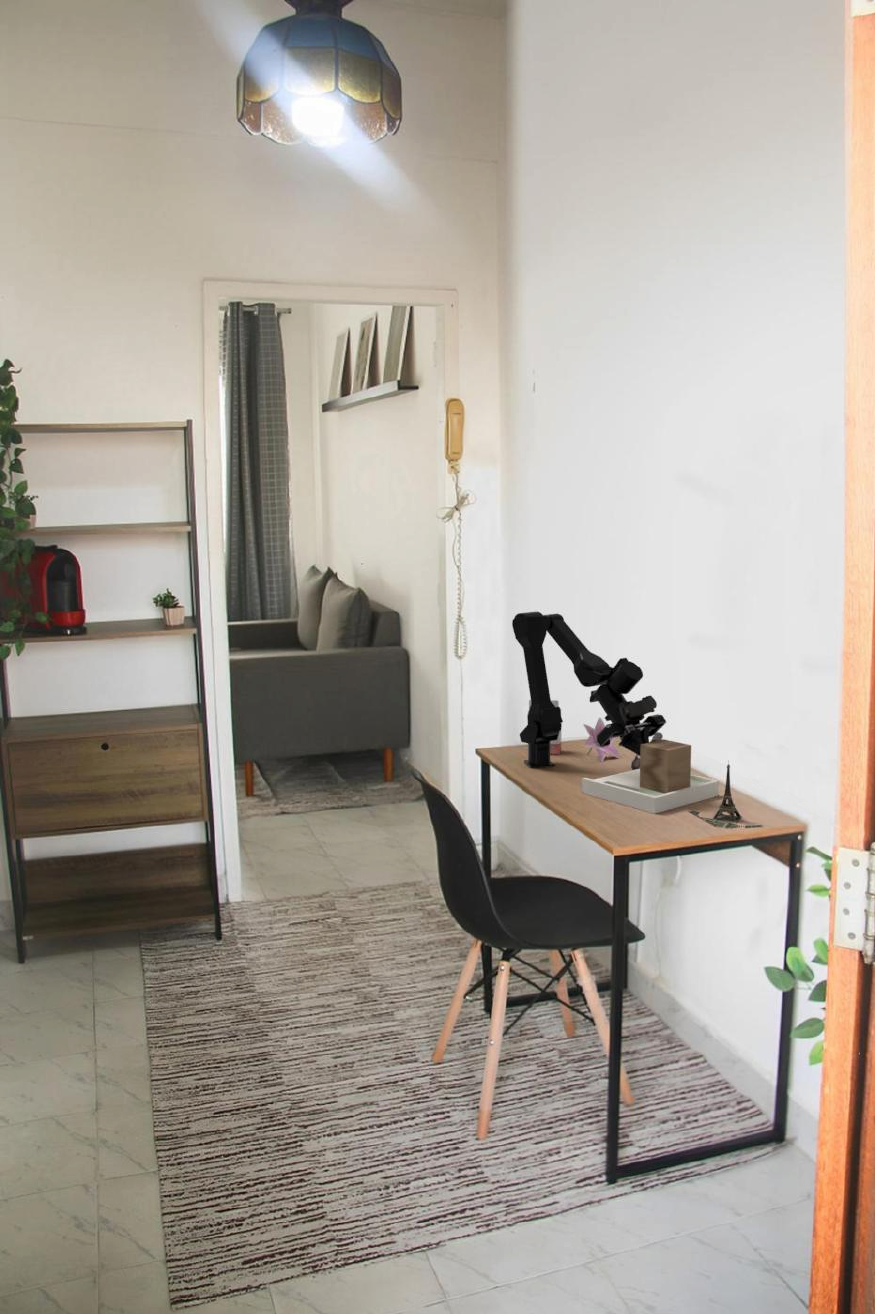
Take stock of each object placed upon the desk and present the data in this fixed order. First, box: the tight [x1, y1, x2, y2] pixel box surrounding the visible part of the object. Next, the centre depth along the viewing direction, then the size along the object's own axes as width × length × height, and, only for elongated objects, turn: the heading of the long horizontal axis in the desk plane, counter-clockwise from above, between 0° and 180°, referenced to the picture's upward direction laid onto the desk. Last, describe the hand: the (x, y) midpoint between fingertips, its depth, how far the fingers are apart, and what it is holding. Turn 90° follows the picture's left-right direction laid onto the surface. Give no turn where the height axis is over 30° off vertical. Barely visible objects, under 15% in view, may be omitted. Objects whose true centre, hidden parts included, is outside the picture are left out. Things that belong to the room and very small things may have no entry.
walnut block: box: [639, 738, 692, 794], centre depth 250 cm, size 8×8×10 cm
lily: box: [582, 717, 621, 763], centre depth 290 cm, size 12×12×10 cm
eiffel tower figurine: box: [687, 760, 763, 830], centre depth 235 cm, size 15×10×13 cm
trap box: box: [581, 768, 720, 815], centre depth 255 cm, size 22×22×4 cm
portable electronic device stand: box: [630, 731, 663, 771], centre depth 279 cm, size 9×8×8 cm
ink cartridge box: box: [527, 699, 562, 755], centre depth 297 cm, size 9×5×15 cm, turn 76°
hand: (650, 759), depth 254 cm, fingers closed
